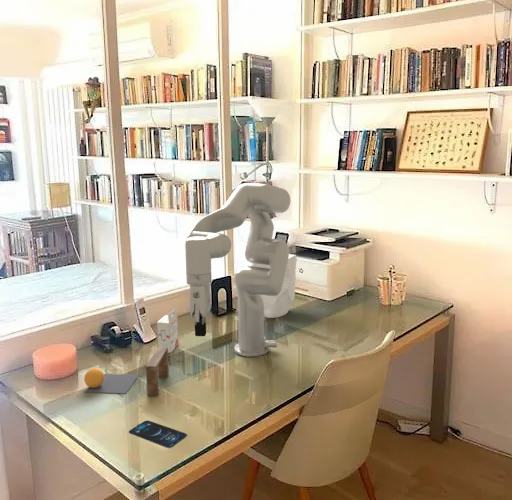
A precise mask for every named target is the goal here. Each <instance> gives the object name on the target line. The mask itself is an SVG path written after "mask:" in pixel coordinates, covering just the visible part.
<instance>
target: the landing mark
mask: <svg viewBox="0 0 512 500" xmlns="http://www.w3.org/2000/svg"><path fill="white" fill-rule="evenodd" d="M103 374H104V381H103V383H102V384H101V385H100V386H99V387H96V388H91V387H89V386H87V388H86V390H85V391H84V393H86V394H87V393H89V394H90V393H91V394H92V393H94V394H118V395H119V394H123V395H126V394H127V393H128V392H129V390H130V389H131V387H132V385H133V384H134V383H135V381H136V380H137V378H138V376H139V374H124V373H123V374H120V373H119V374H118V373H117V374H116V373H115V374H114V373H103Z"/></svg>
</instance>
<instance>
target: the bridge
mask: <svg viewBox="0 0 512 500" xmlns="http://www.w3.org/2000/svg"><path fill="white" fill-rule="evenodd" d="M169 370H170V369H169V353H168V347H159V346H158V347H157V349H156V350H155V352H154V353H153V355H152V356H151V358H150V359H149V361H148V362H147V364H146V365H145V371H146V372H145V376H146V393H147V395H146V396H147V397H158V395H159V393H160V391H159V390H160V388H159V387H160V386H159V378H167V379H168V377H169V375H170V373H169V372H170V371H169Z"/></svg>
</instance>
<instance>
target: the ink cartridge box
mask: <svg viewBox="0 0 512 500" xmlns="http://www.w3.org/2000/svg"><path fill="white" fill-rule="evenodd" d="M156 326H157V342H158V347H168V354H171V353H172V352H173V351H174V350H175V349H176V347H178V346H179V332H178V330H179V328H178V327H179V326H178V313H177V308H175V307H174V309H173V310H171V311H170V312H169V313H168V314H165V315H164V316H162V317H161V318H160V319H159V320H158V321H157V322H156Z"/></svg>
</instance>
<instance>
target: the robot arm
mask: <svg viewBox="0 0 512 500" xmlns="http://www.w3.org/2000/svg"><path fill="white" fill-rule="evenodd" d="M290 205H291V196H290V193H289V191H287V190H286V189H284V188H282V187H278V186H275V185H272V184H268V183H252V182H251V183H247V182H246V183H241V184H240V185H238V186H237V187H236V188H235V189H234V191H233V193H231V195H230V197H229V198H228V199H227V201H226V202H225V203H224V204H223V206H222V207H221V208H219V209H217V210H215V211H213V212H211V213H209V214H208V215H205V216H204V217H202V218H200V220H198V221H197V222H196V223H195V225H194V226H192V228H191V230H190V231H189V233H188V235H187V236H186V240H185V244H184V246H185V247H184V249H185V271H186V272H185V273H186V274H185V275H186V279H185V280H186V284H187V285H189V310H190V311H189V313H190V316H191V317H192V318H193V319H194V336H195V337H205V336H206V334H207V322H206V320H207V319H206V318H207V317H208V315H209V314H210V311H211V309H212V301H211V300H212V299H211V287H210V286H211V285H210V284H212V259H220V258H223V257H225V256H227V255H228V254H229V253H230V251H231V250H232V249H231V248H232V241H231V239H230V237H229V236H227V235H226V234H225V233H221V232H224V231H229V230H233V229H236V228H239V227H240V226H242V225H243V224H244V222H245V221H246V220H247V218H248V217H249V219H250V229H249V233H248V237H247V241H246V247H245V252H244V257H245V259H246V261H247V262H249V263H250V264H251V263H256V264H263V265H270V269H269V268H261V267H253V266H250V265H245V266H241V267H239V268H238V269H237V270H236V272H235V275H234V286H236V290H237V293H236V294H237V318H238V319H237V325H238V333H237V335H238V340H237V341H238V343H237V344H235V346H234V353H236V354H237V355H240V356H243V357H250V358H251V357H253V358H254V357H260V356H263V355H265V354H267V353H269V350H270V348H275V349H276V348H277V342H275V341H274V339H273V340H272V339H271V340H269V339H267V338H266V335H265V316H264V302H263V299H262V297H261V295H267V296H277V295H278V294H279V293H280V292H281V290H282V287H283V283H284V278H285V273H286V268H287V263H288V258H289V254H290V249H289V246H288V244H287V242H286V241H284V240H283V239H280V238H279V239H278V238H277V239H276V238H273V235H274V229H275V228H274V222H273V220H272V218H271V216H270V215H269V213H275V214H276V213H277V214H283V213H285V212H287V211H288V209H289V208H290Z"/></svg>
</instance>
